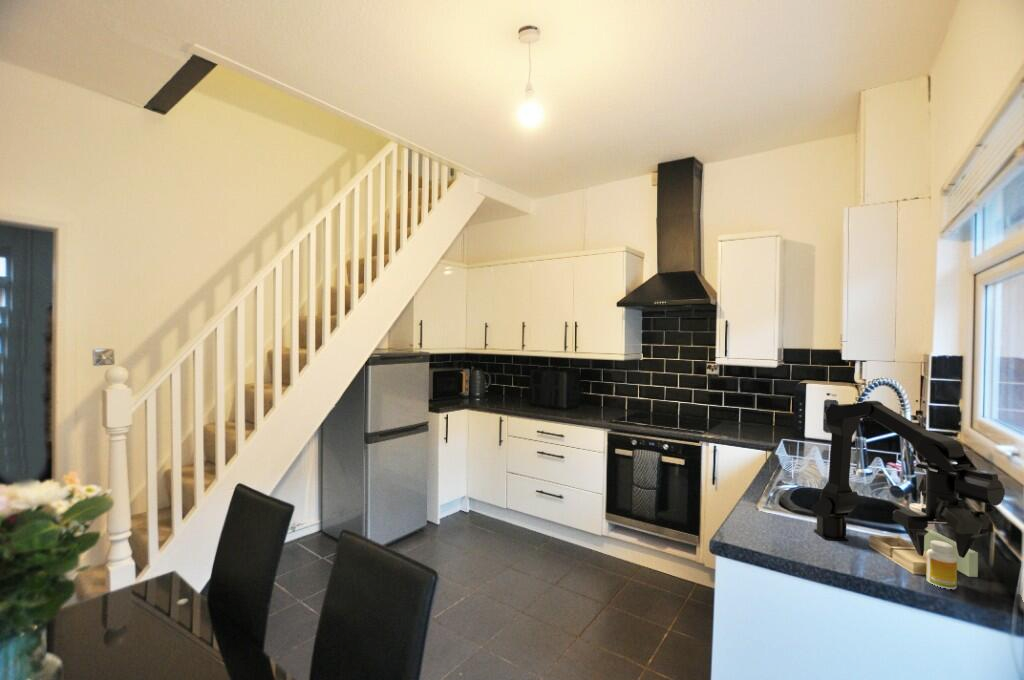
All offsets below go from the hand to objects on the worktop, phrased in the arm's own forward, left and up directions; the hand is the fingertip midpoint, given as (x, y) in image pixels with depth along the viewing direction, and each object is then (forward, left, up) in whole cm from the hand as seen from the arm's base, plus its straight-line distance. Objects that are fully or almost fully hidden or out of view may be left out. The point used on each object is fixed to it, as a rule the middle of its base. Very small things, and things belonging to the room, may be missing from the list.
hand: (941, 556), depth 112 cm
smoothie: (+16, +26, -7) cm, 32 cm away
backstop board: (+11, +11, -7) cm, 17 cm away
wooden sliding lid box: (+1, +12, -7) cm, 14 cm away
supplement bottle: (0, 0, -7) cm, 7 cm away
